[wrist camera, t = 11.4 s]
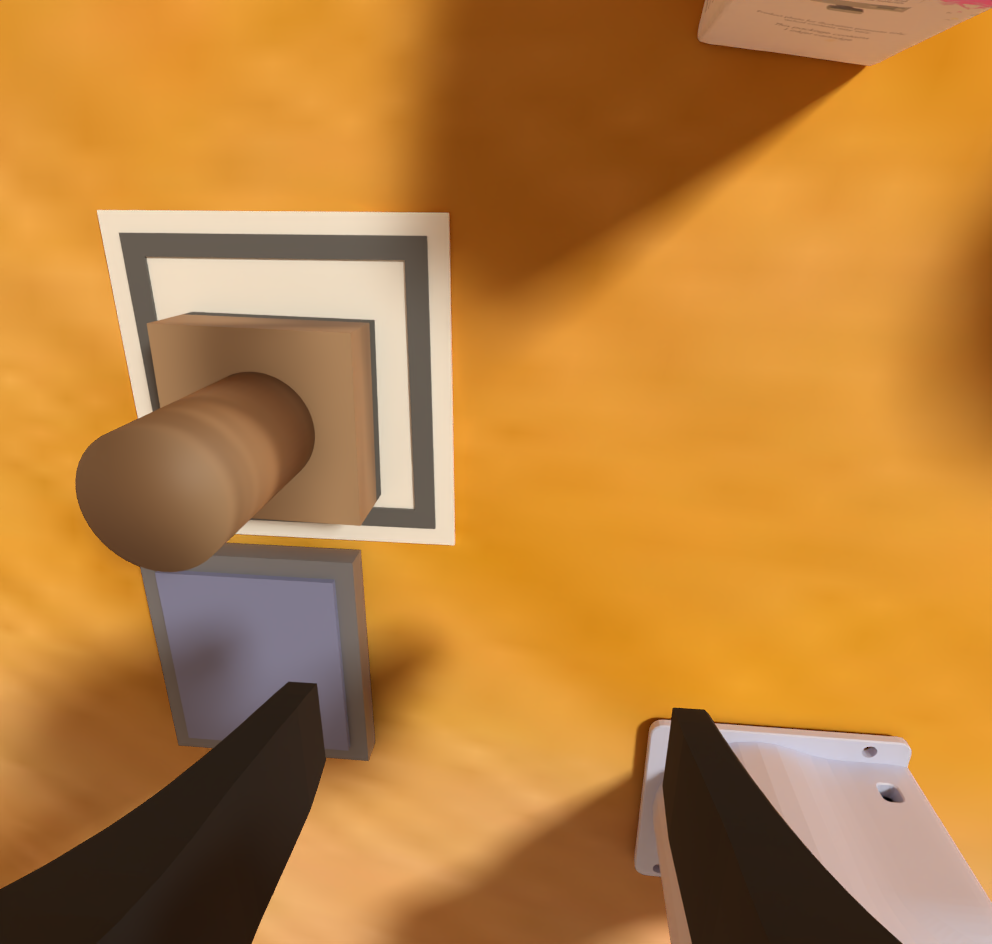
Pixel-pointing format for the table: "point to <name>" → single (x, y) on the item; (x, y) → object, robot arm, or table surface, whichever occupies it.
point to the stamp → (238, 436)
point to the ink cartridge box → (832, 25)
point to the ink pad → (264, 640)
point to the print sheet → (314, 293)
